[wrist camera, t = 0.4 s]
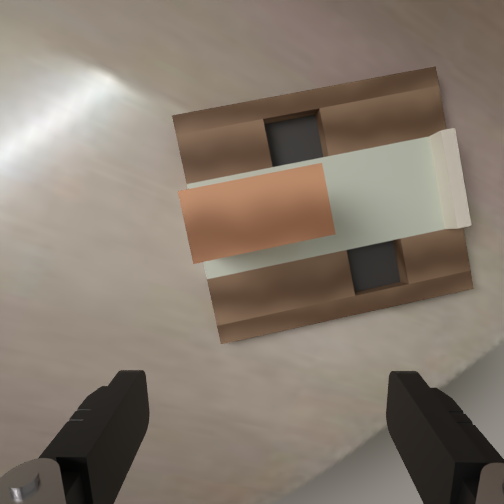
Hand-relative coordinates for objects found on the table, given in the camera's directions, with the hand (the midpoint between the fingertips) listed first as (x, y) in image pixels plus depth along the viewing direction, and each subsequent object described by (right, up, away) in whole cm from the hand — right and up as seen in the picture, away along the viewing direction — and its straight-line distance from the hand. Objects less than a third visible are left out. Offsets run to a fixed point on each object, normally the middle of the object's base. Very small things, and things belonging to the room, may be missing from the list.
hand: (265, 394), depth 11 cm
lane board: (+7, +10, +26) cm, 29 cm away
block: (-1, +8, +24) cm, 25 cm away
